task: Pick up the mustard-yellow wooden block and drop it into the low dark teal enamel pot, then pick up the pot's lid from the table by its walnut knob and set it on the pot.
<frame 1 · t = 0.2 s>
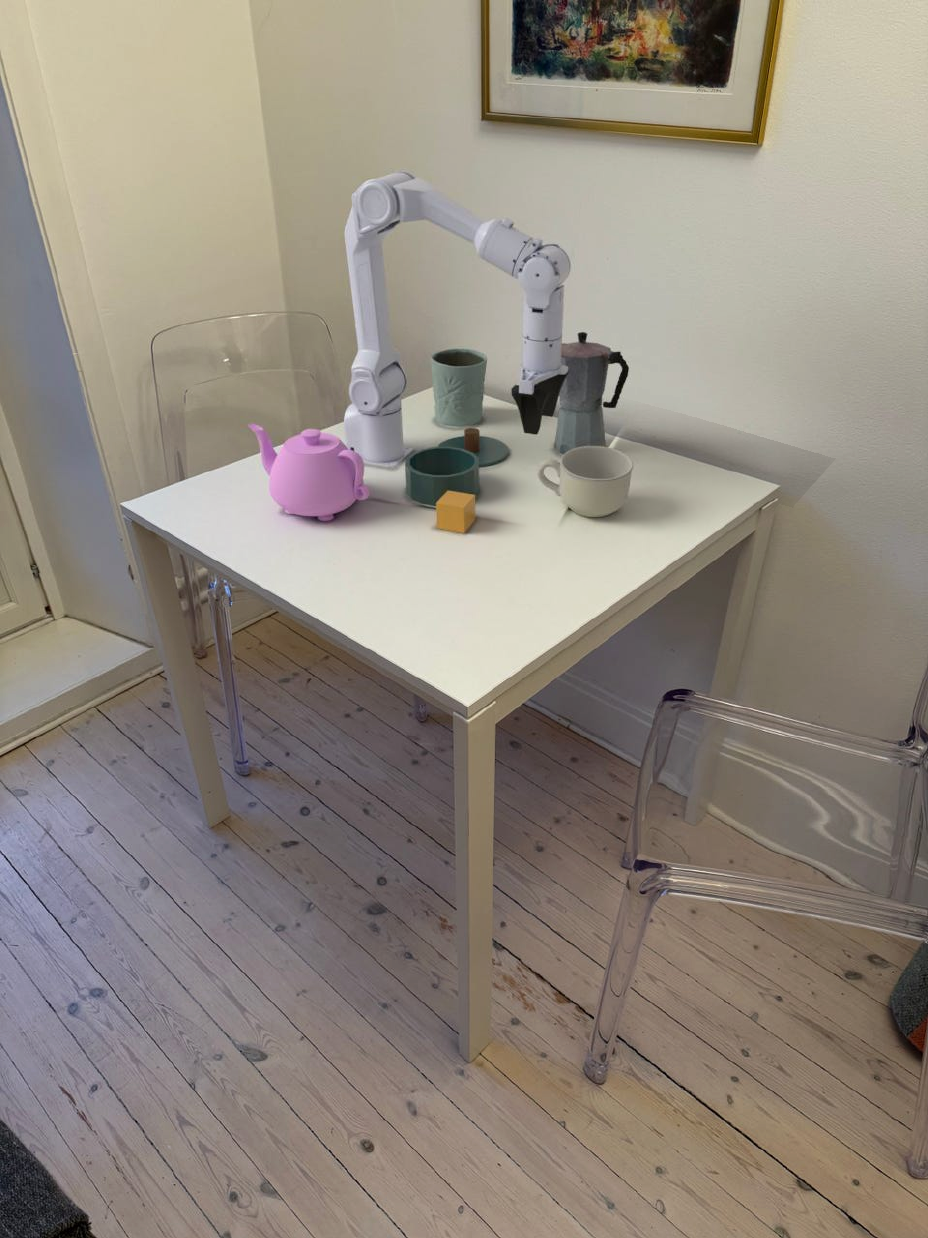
hand: (538, 423, 137), 10 cm above the table, tool pointing down, fingers open, 7 cm apart
block: (456, 524, 131), on the table
teacup: (582, 508, 136), on the table
pot: (442, 492, 140), on the table
green embossed cup: (459, 421, 165), on the table
teapot: (314, 505, 137), on the table
moka pot: (582, 450, 154), on the table
lid: (471, 452, 152), point 1 cm above the table
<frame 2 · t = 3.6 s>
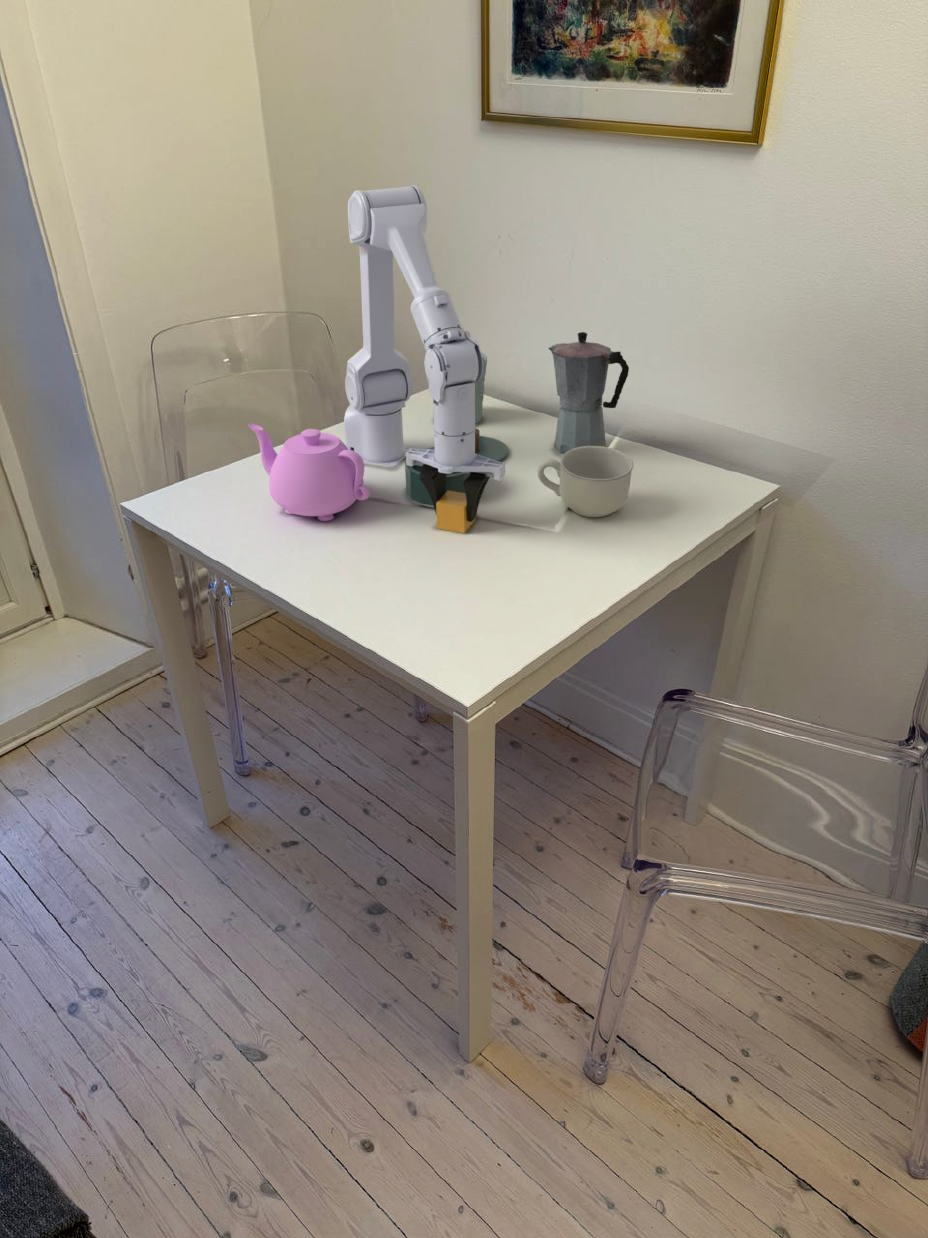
hand: (456, 515, 131), 1 cm above the table, tool pointing down, fingers closed on block, 4 cm apart
block: (456, 524, 131), on the table, touching gripper
everything else where it was.
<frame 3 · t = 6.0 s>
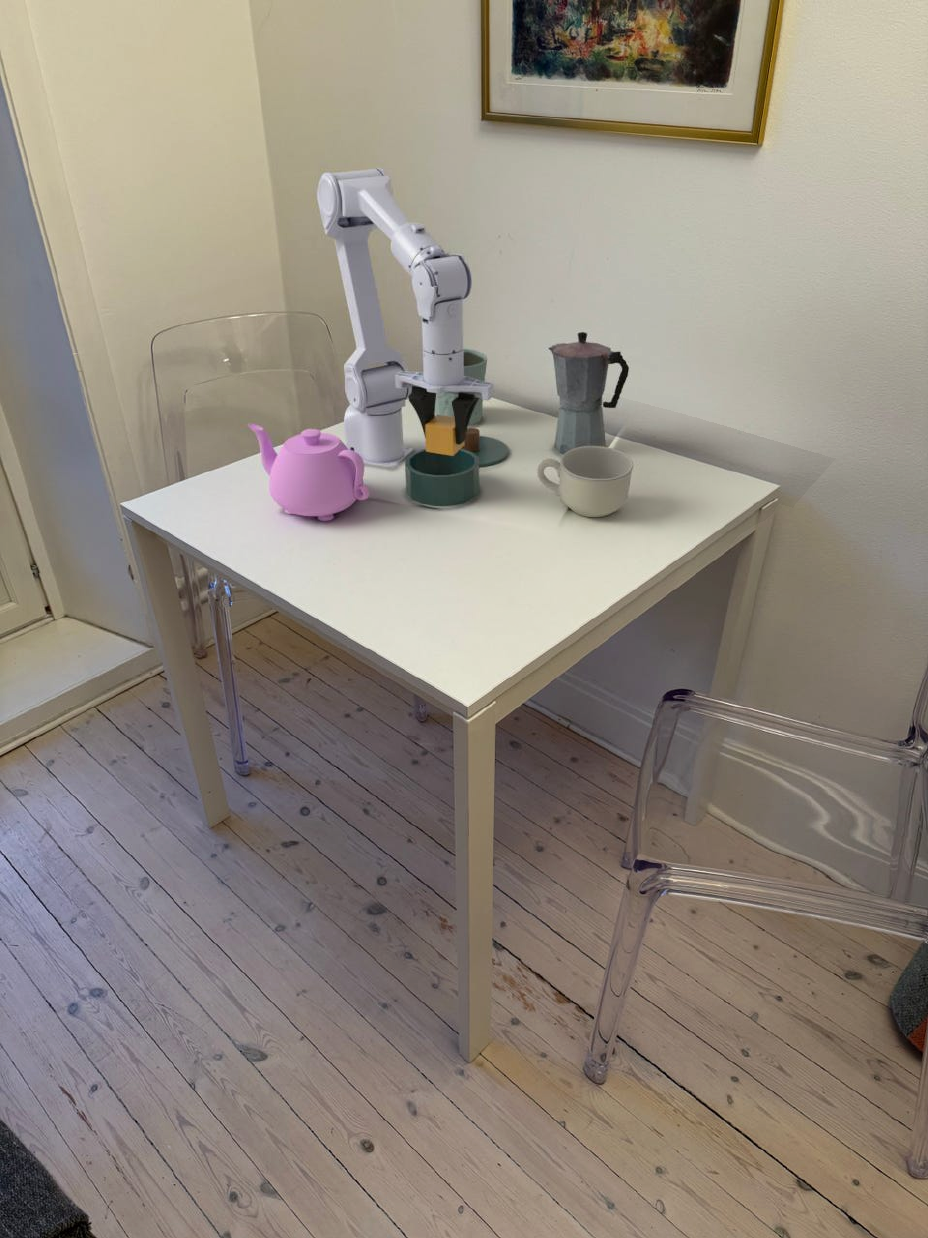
hand: (445, 439, 132), 10 cm above the table, tool pointing down, fingers closed on block, 4 cm apart
block: (445, 448, 132), point 9 cm above the table, touching gripper
everything else where it was.
when the fingers open (3 cm above the table, at t = 8.8 s): block drops 2 cm, resting on pot.
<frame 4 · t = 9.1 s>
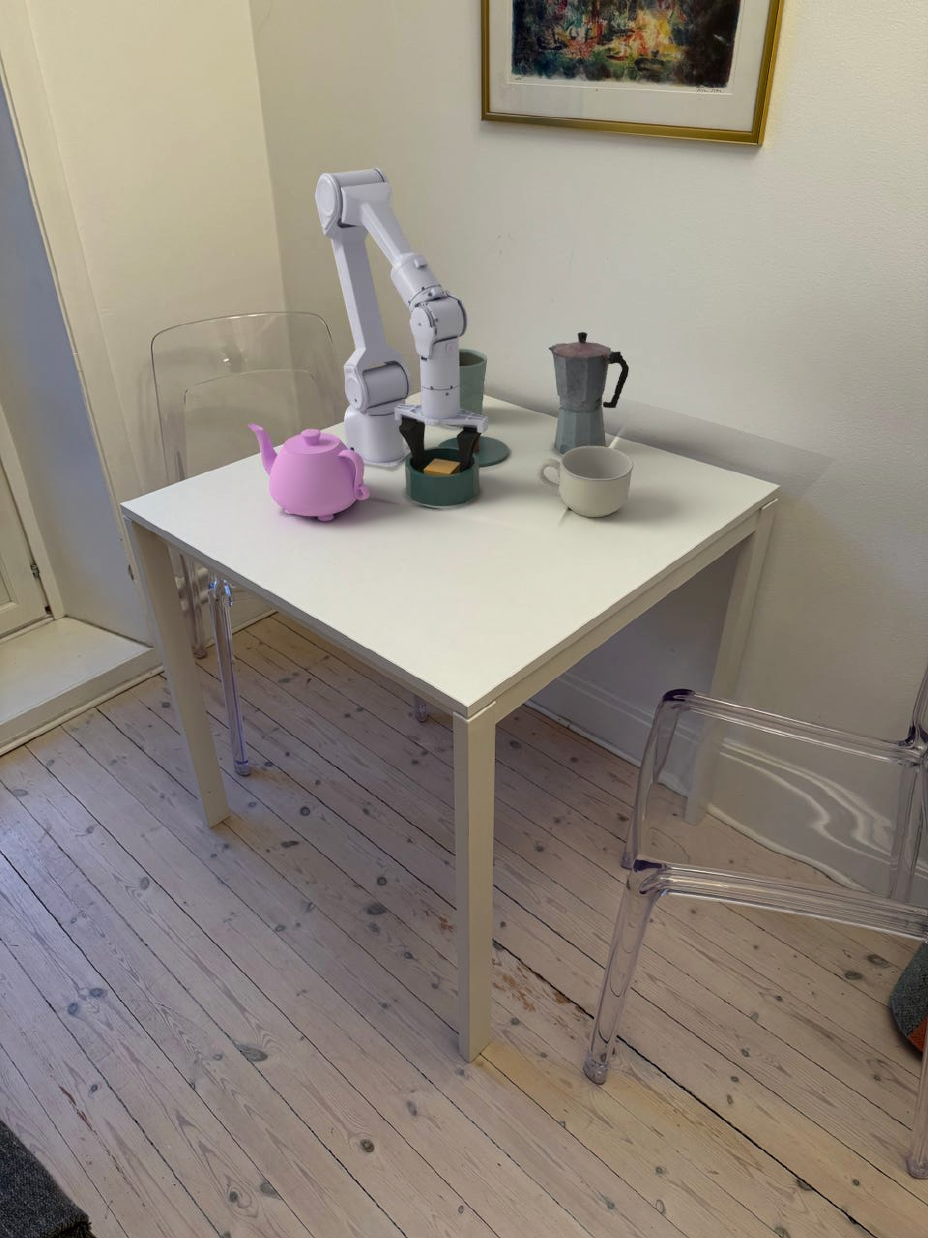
hand: (442, 468, 138), 4 cm above the table, tool pointing down, fingers open, 7 cm apart
block: (442, 490, 140), resting on pot
everything else where it was.
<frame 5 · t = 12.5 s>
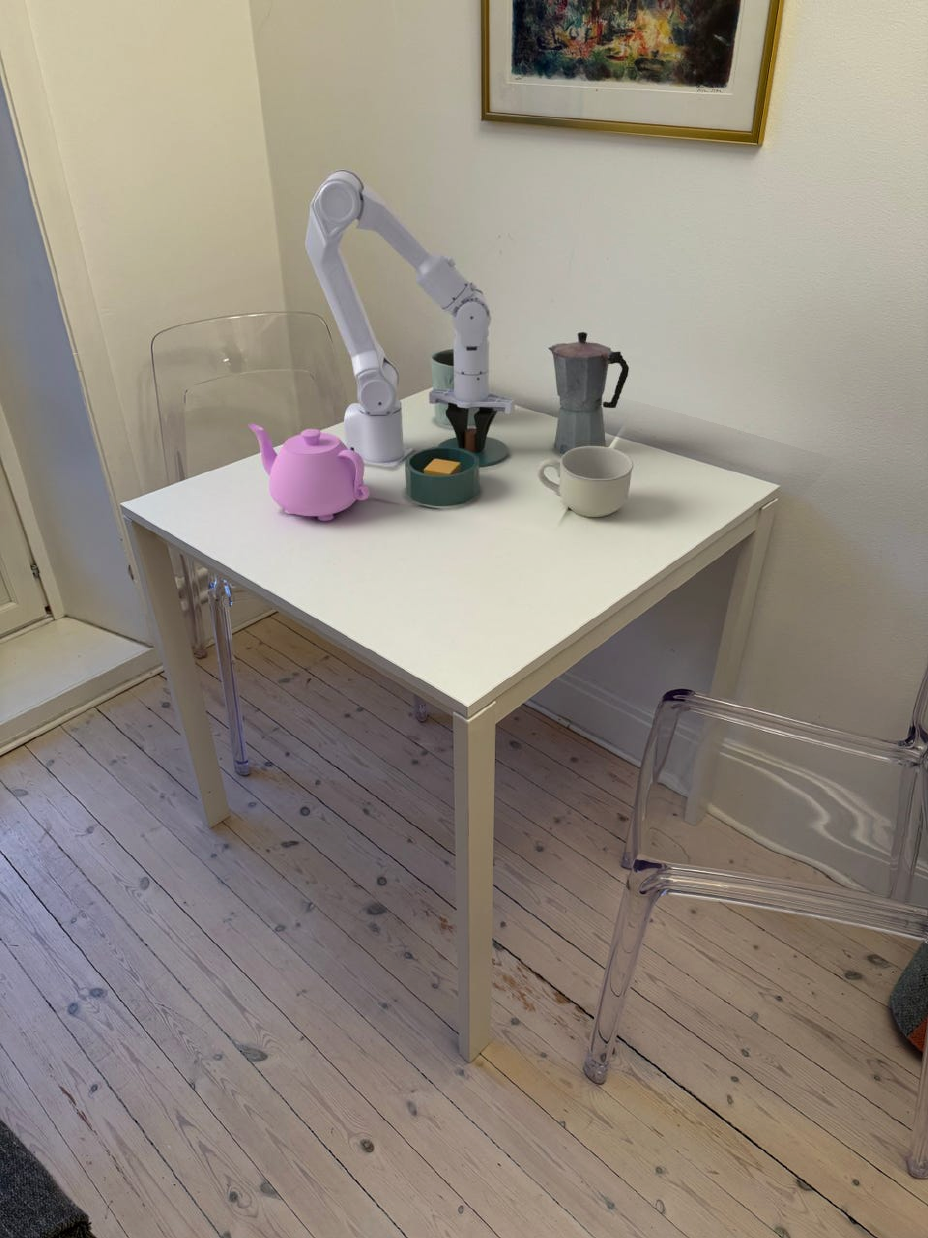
hand: (471, 447, 151), 1 cm above the table, tool pointing down, fingers closed on lid, 2 cm apart
lid: (471, 452, 152), point 1 cm above the table, touching gripper
everything else where it was.
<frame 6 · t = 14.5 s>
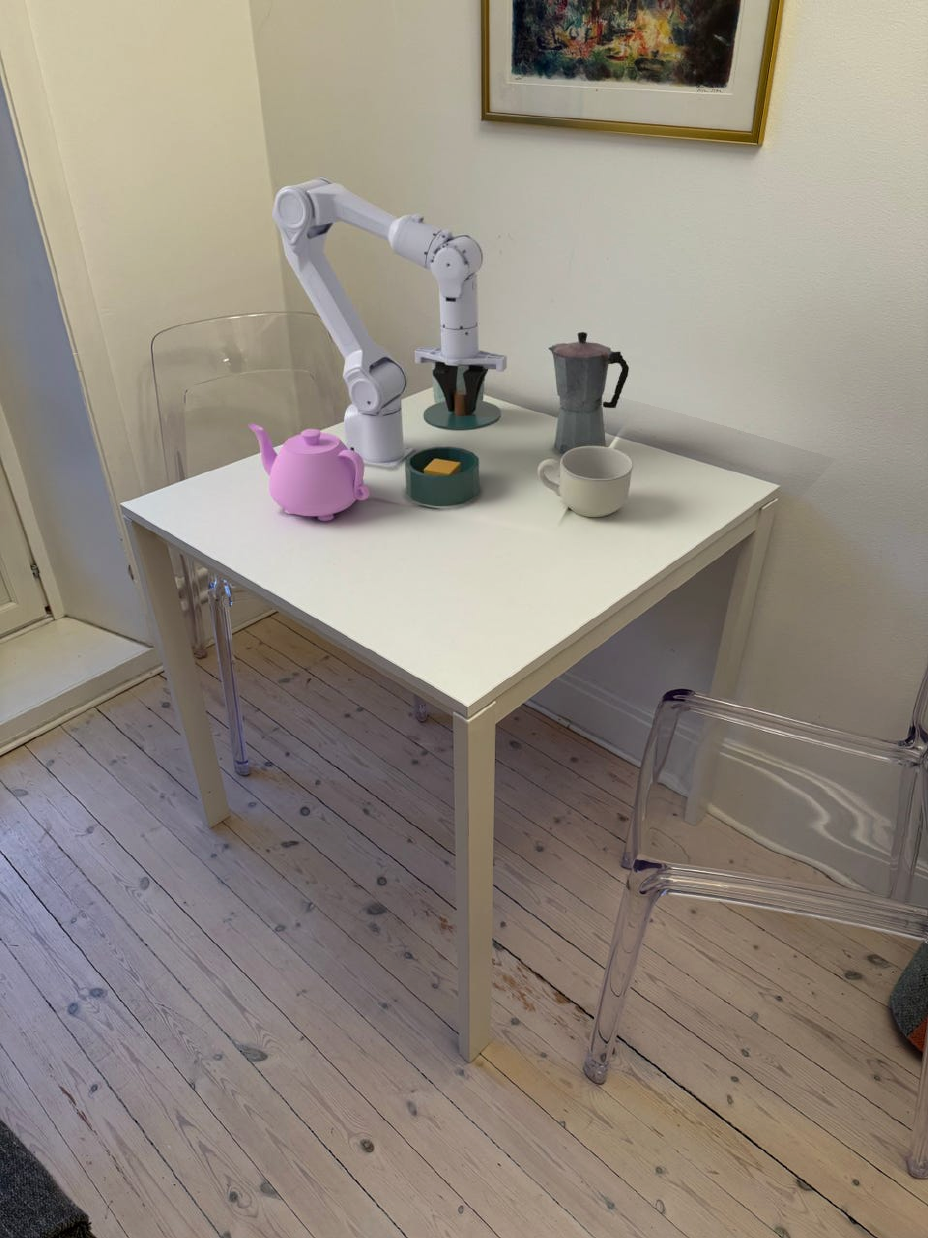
hand: (461, 410, 141), 10 cm above the table, tool pointing down, fingers closed on lid, 2 cm apart
lid: (462, 415, 141), point 10 cm above the table, touching gripper
everything else where it was.
when the fingers open (6 cm above the table, at t = 16.6 s): lid stays where it is, resting on pot.
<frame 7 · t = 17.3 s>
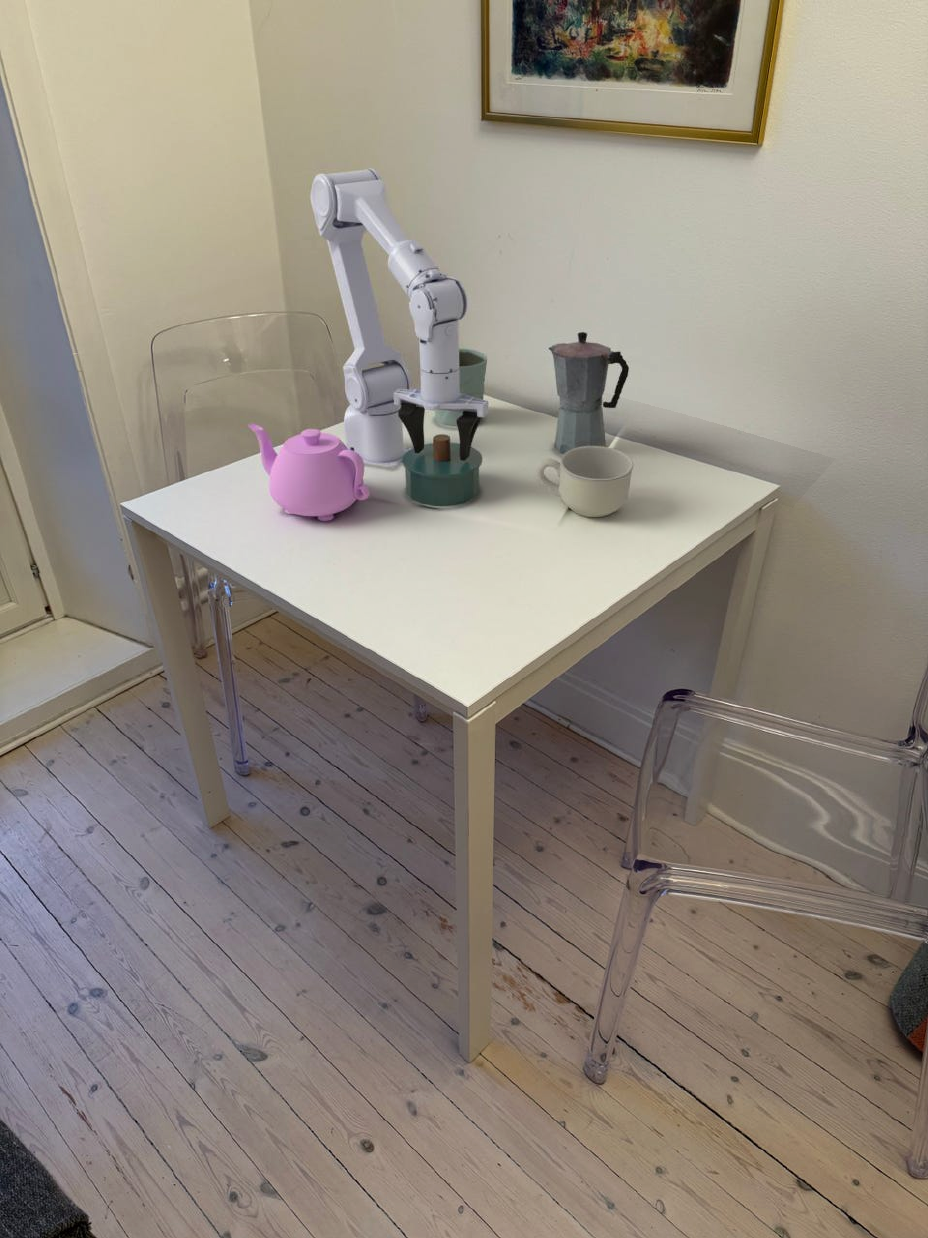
hand: (441, 454, 136), 7 cm above the table, tool pointing down, fingers open, 7 cm apart
lid: (442, 461, 137), point 5 cm above the table, touching pot
everything else where it was.
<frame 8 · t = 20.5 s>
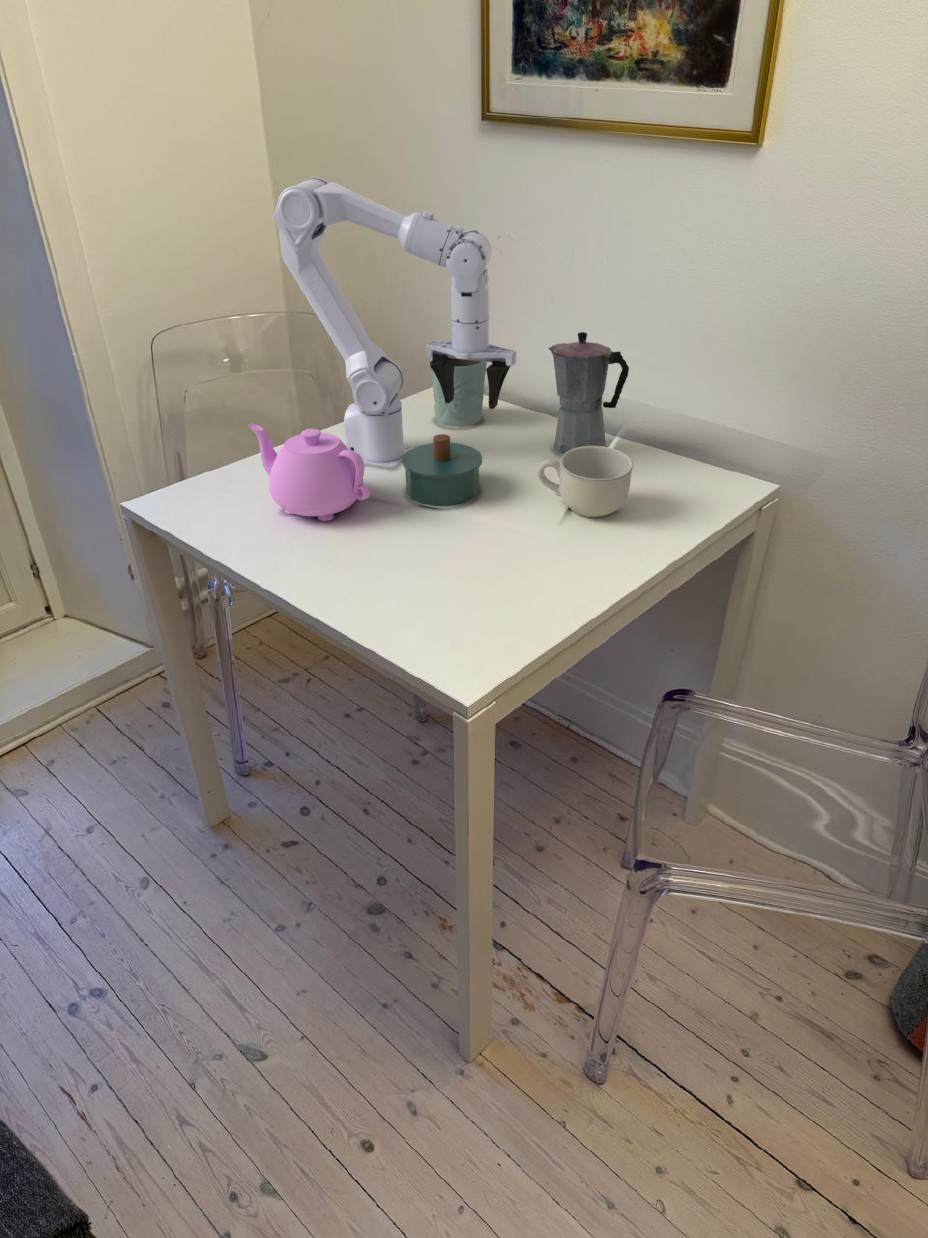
hand: (471, 403, 143), 10 cm above the table, tool pointing down, fingers open, 7 cm apart
nothing on the table moved.
at the end: block inside the target area in the pot (0.0 cm from its centre), point 0.4 cm above the pot's base; lid 0.0 cm off-centre on the pot, point 5.4 cm above the pot's base; lid tilted 0° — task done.
